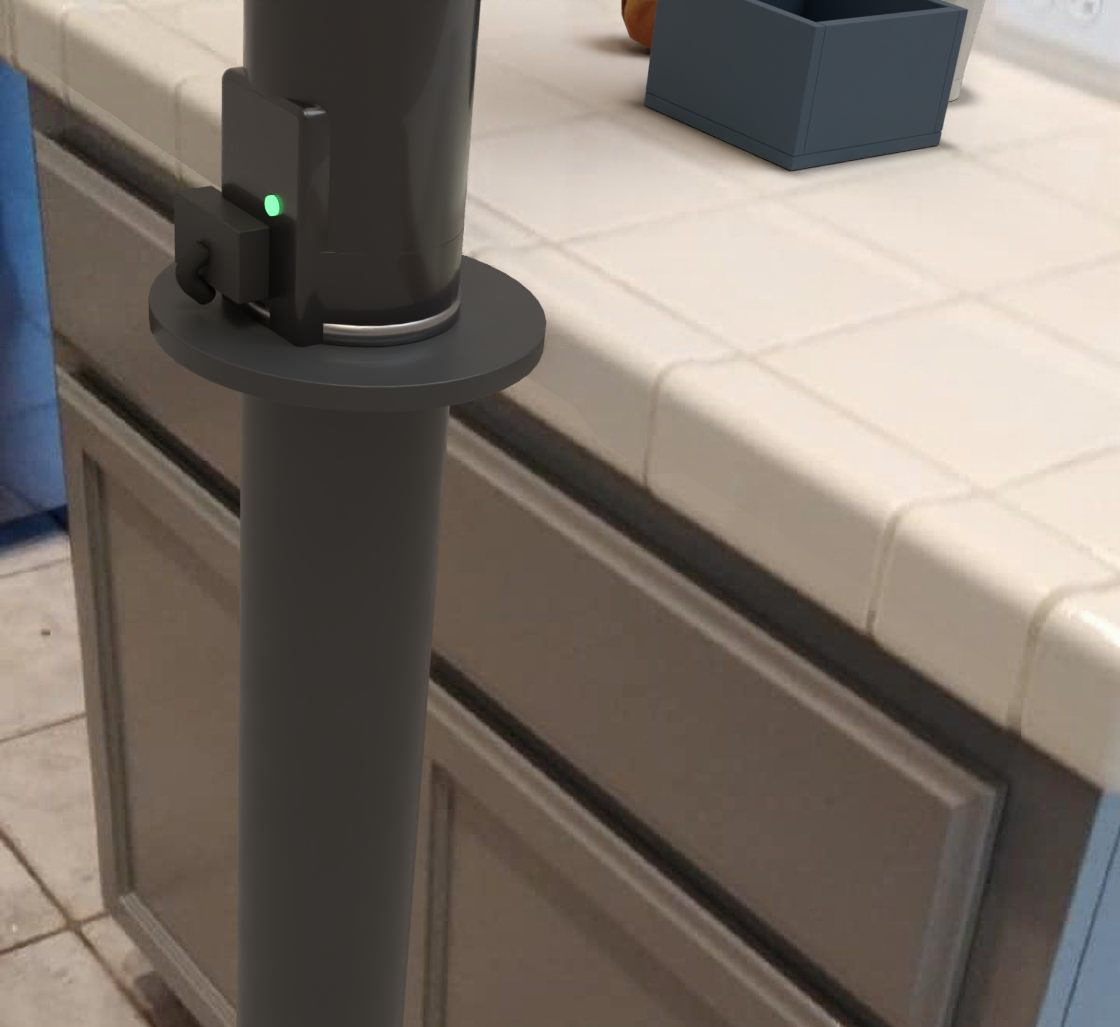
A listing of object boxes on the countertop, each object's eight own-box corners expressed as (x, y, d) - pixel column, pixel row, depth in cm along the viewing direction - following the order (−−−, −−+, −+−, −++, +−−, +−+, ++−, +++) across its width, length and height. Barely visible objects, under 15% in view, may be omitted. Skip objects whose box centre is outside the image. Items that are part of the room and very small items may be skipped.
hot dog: (607, 36, 126) (616, -44, 123) (800, 49, 128) (813, -28, 125) (620, 57, 122) (629, -24, 119) (819, 71, 124) (833, -9, 121)
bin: (790, 171, 106) (815, 27, 101) (643, 105, 113) (660, -32, 109) (939, 145, 113) (969, 9, 108) (791, 84, 120) (813, -45, 116)
